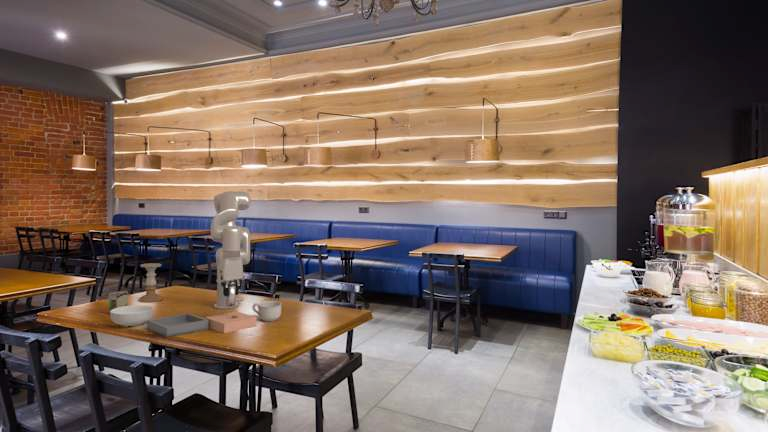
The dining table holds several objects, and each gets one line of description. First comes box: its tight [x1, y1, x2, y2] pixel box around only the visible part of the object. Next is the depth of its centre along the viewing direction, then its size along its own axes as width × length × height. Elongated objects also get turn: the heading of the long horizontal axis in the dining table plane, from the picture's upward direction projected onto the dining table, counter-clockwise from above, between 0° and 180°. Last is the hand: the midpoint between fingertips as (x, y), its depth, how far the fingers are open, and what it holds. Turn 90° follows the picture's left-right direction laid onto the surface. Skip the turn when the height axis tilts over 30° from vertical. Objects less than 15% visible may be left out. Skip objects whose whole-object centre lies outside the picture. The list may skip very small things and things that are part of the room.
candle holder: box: [138, 262, 164, 303], centre depth 251 cm, size 12×12×20 cm
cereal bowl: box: [109, 304, 154, 328], centre depth 201 cm, size 17×17×7 cm
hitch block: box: [204, 310, 258, 334], centre depth 201 cm, size 16×16×4 cm
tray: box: [146, 312, 209, 339], centre depth 195 cm, size 18×18×4 cm
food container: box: [107, 290, 129, 312], centre depth 220 cm, size 12×6×10 cm, turn 5°
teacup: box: [251, 300, 282, 322], centre depth 214 cm, size 14×11×8 cm
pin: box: [226, 280, 237, 307], centre depth 201 cm, size 4×4×11 cm
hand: (230, 294), depth 201 cm, fingers closed on pin, 4 cm apart
